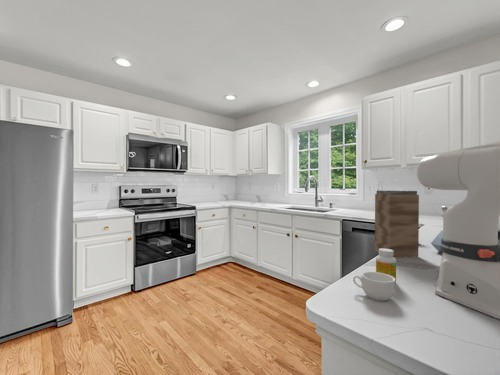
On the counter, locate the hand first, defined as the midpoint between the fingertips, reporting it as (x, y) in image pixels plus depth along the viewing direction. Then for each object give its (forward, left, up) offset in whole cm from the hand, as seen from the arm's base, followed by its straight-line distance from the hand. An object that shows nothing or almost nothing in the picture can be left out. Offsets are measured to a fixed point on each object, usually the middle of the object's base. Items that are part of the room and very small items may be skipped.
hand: (452, 208), depth 111 cm
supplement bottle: (-30, +53, -20) cm, 64 cm away
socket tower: (0, +27, -20) cm, 34 cm away
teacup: (-39, +63, -20) cm, 77 cm away
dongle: (0, -3, -12) cm, 12 cm away
